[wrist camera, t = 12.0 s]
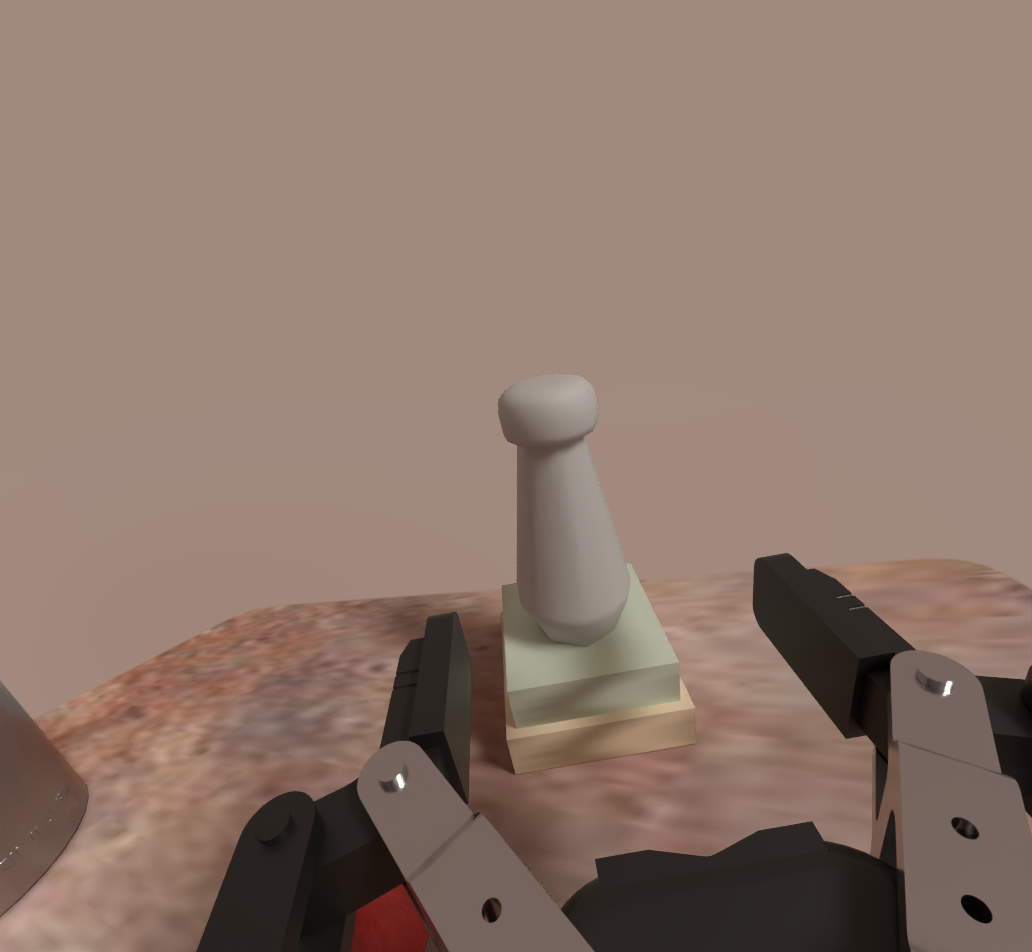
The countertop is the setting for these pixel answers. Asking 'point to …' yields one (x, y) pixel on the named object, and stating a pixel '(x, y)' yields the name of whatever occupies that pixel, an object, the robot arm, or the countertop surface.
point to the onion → (389, 925)
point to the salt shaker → (562, 512)
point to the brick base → (599, 734)
